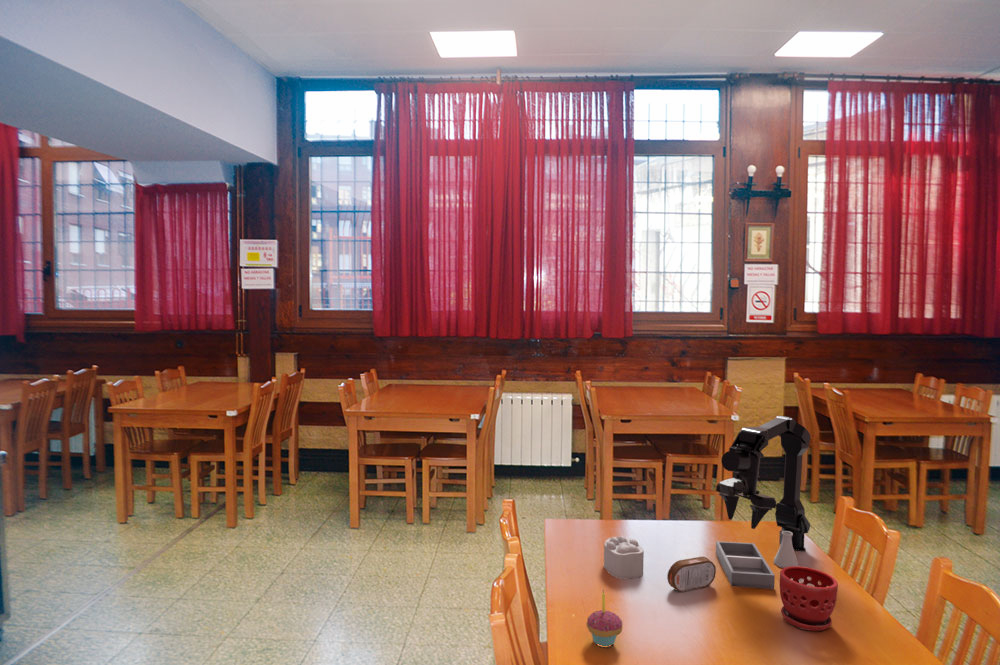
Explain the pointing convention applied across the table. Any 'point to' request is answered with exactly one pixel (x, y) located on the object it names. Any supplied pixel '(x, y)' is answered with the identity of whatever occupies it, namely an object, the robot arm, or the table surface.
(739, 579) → the caddy
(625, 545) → the lumpy-topped squat cylinder
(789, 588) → the plant pot
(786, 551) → the flask
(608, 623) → the cupcake
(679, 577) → the tin
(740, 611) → the table surface
